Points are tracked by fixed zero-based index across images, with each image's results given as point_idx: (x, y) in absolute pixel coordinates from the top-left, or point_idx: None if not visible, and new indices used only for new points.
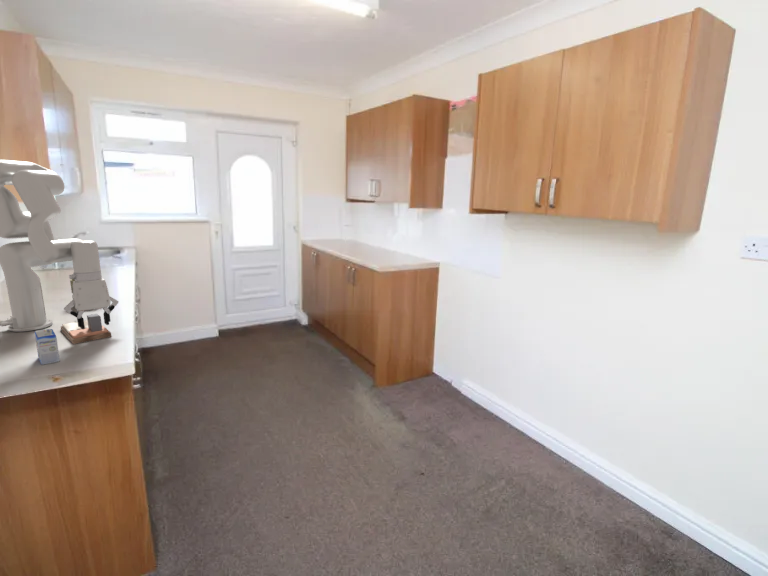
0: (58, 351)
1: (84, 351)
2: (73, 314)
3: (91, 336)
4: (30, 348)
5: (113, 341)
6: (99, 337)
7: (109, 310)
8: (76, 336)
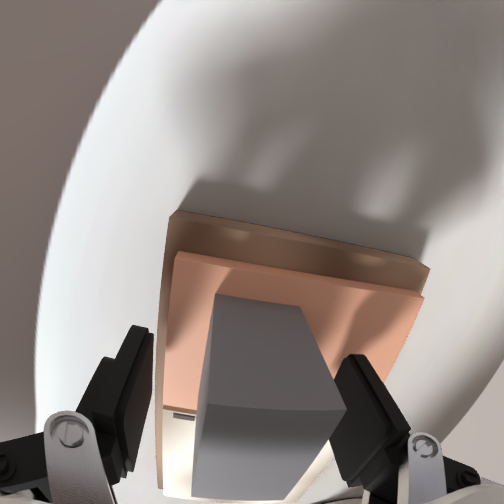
0: None
1: (433, 58)
2: (457, 470)
3: (328, 245)
4: (486, 337)
5: (228, 68)
6: (266, 228)
7: (49, 446)
8: (408, 293)
